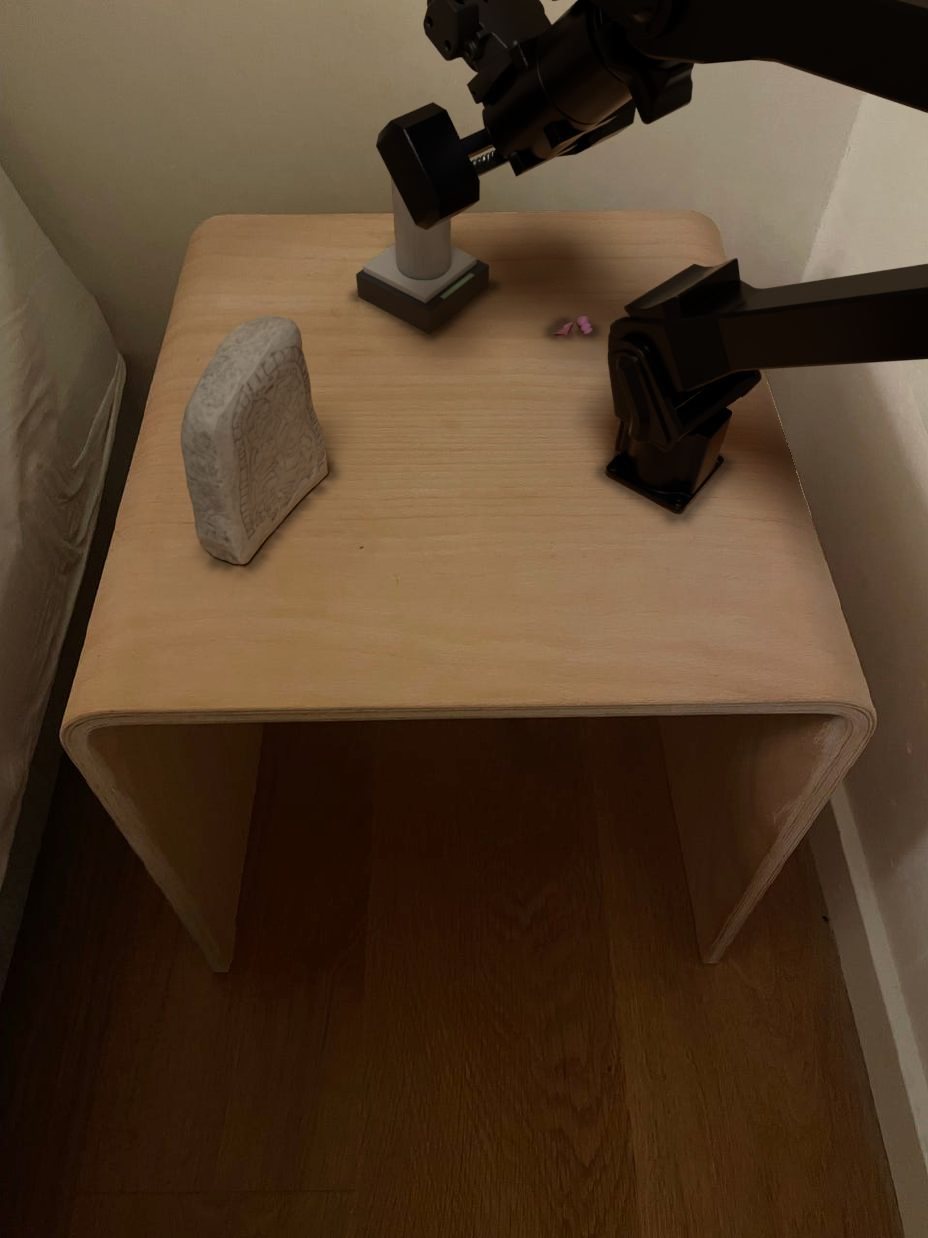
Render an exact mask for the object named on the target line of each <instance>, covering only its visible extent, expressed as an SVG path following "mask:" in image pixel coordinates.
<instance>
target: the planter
mask: <svg viewBox="0 0 928 1238" xmlns="http://www.w3.org/2000/svg"><path fill="white" fill-rule="evenodd" d="M390 182H391V198H392V214H393V229H394V243H395V247H396V261H397V267H398V269H399V270H400V272H401V273H403V274H404V275H405V276H407V277H410V278H413V279H418V280H429V279H434V278H437V277H440V276H442V275H443V274H445V273H446V272H447V271H448V269H449V268H450V265H451V246H452V218H450V219H448V220H446V221H444V222H442V223H440V224H438V225H436V226H434V227H432V228H430V229H428V230H425V229H422V228H420V227H418V226H416V225H415V223H414V221H413V219H412V217H411V215H410V213H409V211H408V209H407V207H406V205H405V203H404V201H403V199H402V197H401V195H400V193H399V191H398V189H397V187H396V185H395V183H394V181H393V179H392V177H391V176H390Z"/></svg>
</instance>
